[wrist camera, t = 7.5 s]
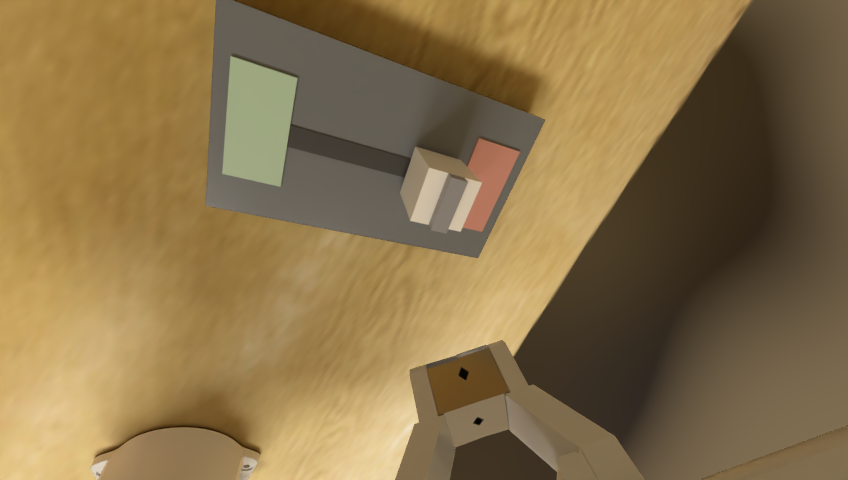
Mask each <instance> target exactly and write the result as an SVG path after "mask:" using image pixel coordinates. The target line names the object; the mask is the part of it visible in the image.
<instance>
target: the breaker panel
mask: <svg viewBox="0 0 848 480" xmlns="http://www.w3.org/2000/svg"><path fill="white" fill-rule="evenodd" d="M544 122H545V120H544V119H542V118H540V117H537V116H535V115H533V114H530V113H528V112H525V111H523V110H520V109H517V108H515V107H512V106H509V105H507V104H504V103H502V102H499V101H496V100H494V99H491V98H489V97H486V96H483V95H481V94H478V93H476V92H473V91H470V90H468V89H465V88H462V87H460V86H457V85H455V84H452V83H449V82H447V81H444V80H442V79H439V78H436V77H434V76H431V75H428V74H426V73H423V72H421V71H418V70H415V69H413V68H410V67H408V66H405V65H402V64H400V63H397V62H395V61H392V60H389V59H387V58H384V57H381V56H379V55H376V54H374V53H371V52H368V51H366V50H363V49H361V48H358V47H355V46H353V45H350V44H347V43H345V42H342V41H340V40H337V39H334V38H332V37H329V36H327V35H324V34H321V33H319V32H316V31H314V30H311V29H308V28H306V27H303V26H300V25H298V24H295V23H293V22H290V21H287V20H285V19H282V18H280V17H277V16H274V15H272V14H269V13H267V12H264V11H261V10H259V9H256V8H253V7H251V6H248V5H246V4H243V3H240V2H238V1H235V0H216V10H215V30H214V50H213V70H212V90H211V111H210V131H209V151H208V171H207V191H206V206H209V207H214V208H220V209H225V210H230V211H235V212H240V213H246V214H251V215H256V216H261V217H266V218H272V219H277V220H282V221H287V222H293V223H298V224H303V225H308V226H313V227H319V228H324V229H329V230H334V231H339V232H345V233H350V234H355V235H360V236H365V237H371V238H376V239H381V240H386V241H391V242H397V243H402V244H407V245H412V246H417V247H423V248H428V249H433V250H438V251H443V252H449V253H454V254H459V255H464V256H469V257H475V258H478V257H479V255H480V253H481V251H482V249H483V247H484V245H485V243H486V241H487V239H488V237H489V234H490V232H491V230H492V228H493V226H494V224H495V222H496V220H497V218H498V216H499V214H500V212H501V210H502V208H503V206H504V204H505V202H506V200H507V198H508V195H509V193H510V191H511V189H512V187H513V185H514V183H515V181H516V179H517V177H518V175H519V173H520V171H521V169H522V167H523V165H524V163H525V161H526V159H527V156H528V154H529V152H530V150H531V148H532V146H533V144H534V142H535V140H536V138H537V136H538V134H539V132H540V130H541V128H542V126H543V124H544ZM415 146H416V147H419V148H422V149H426V150H429V151H432V152H436V153H439V154H442V155H446V156H449V157H452V158H456V159H459V160H461V161H462V162H463V163H464V164H465V165H466V166H467V167H468V168H469V169H470V170H471V171H472V172H473V173H474V174H475V176H476V177H477V178H478V179H479V180H480V181H481V182H482V184H481V187H480V189H479V191H478V193H477V196H476V198H475V200H474V203H473V205H472V207H471V209H470V212H469V214H468V216H467V218H466V221H465V223H464V225H463V228H462V230H461V232H459V231H454V230H450V229H448V231H447V233H441V232H437V231H432V230H431V229H430V227H429V225H427V224H422V223H418V222H413V221H410V219H409V216H408V214H407V211H406V208H405V205H404V203H403V200H402V197H401V194H400V191H401V188H402V185H403V182H404V179H405V176H406V173H407V170H408V167H409V164H410V161H411V158H412V155H413V152H414V149H415Z"/></svg>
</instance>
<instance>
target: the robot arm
mask: <svg viewBox="0 0 848 480" xmlns="http://www.w3.org/2000/svg"><path fill="white" fill-rule="evenodd" d="M410 379H411V384H412V389H413V394H414V398H415V403H416V408H417V413H418V418H419V423H417V424H414V427H413V430H412V433H411V436H410V439H409V442H408V444H407V447H406V450H405V453H404V456H403V459H402V462H401V465H400V467H399V470H398V473H397V476H396V479H395V480H449V479H450V474H451V469H452V464H453V459H454V454H455V447H457V446H460V445H463V444H465V443H468V442H471V441H473V440H476V439H479V438H482V437H485V436H488V435H491V434H495V433H498V432H501V431H504V430H508V429H510V431H511V432H512V433H513V434H514V435H516V436H517V437H518V438H519V439H520V440H521V441H522V442H524V443H525V444H526V445H527V446H528V447H529V448H531V449H532V450H533V451H534V452H535V453H536V454H537V455H538V456H540V457H541V458H542V459H543V460H544V461H545V462H546V463H548V464H549V465H550V466H551V467H552V468H553V469H555V470H556V471H557V480H644V478H643V477H642V476H641V474H640V473H639V471H638V470H637V468H636V467H635V465H634V464H633V462H632V461H631V459H630V458H629V457H628V455H627V454H626V452H625V451H624V449H623V448H622V446H621V445H620V443H619V442H618V440H617V439H616V437H615V436H614V435H612V434H610V433H609V432H607V431H606V430H604V429H603V428H601V427H599V426H598V425H596V424H594V423H593V422H591V421H590V420H588V419H587V418H585V417H584V416H582V415H580V414H579V413H577V412H576V411H574V410H573V409H571V408H569V407H568V406H566V405H564V404H563V403H561V402H560V401H558V400H557V399H555V398H554V397H552V396H550V395H549V394H547V393H546V392H544V391H542V390H541V389H539V388H538V387H536V386H534V385H531V386H528V384H527V382H526V380H525V378H524V377H523V375H522V373H521V371H520V369H519V368H518V366H517V364H516V362H515V360H514V358H513V356H512V354H511V353H510V351H509V349H508V347H507V345H506V343H505V342H504V341H503V340H500V341H497V342H495V343H492V344H489V345H484V346H481V347H478V348H475V349H472V350H469V351H466V352H463V353H460V354H457V355H456V356H453V357H450V358H446V359H443V360H440V361H436V362H433V363H430V364H426V365H423V366H420V367H416V368H413V369H410ZM259 457H260V454H259V453H257V452H255V451H253V450H250V449H247V448H244V447H242V446H240V445H239V444H238V443H237V442H236V441H234V440H233V439H231V438H230V437H228V436H226V435H224V434H221V433H218V432H215V431H211V430H207V429H201V428H190V427H177V428H166V429H159V430H154V431H150V432H147V433H144V434H141V435H138V436H136V437H134V438H132V439H130V440H129V441H127V442H126V443H125V444H123V445H122V446H121V447H119V448H118V449H116V450H114V451H111V452H108V453H105V454H102V455H99V456H97V457H96V458H94V460H93V462H92V464H91V467H90V469H91V471H92V473H93V474H94V476H95V477H96V479H97V480H248V479H249V477H250V475H251V474H252V472H253V470H254V468H255V467H256V465H257V463H258V460H259ZM699 480H848V425H847V426H844V427H841V428H839V429H836V430H833V431H830V432H828V433H825V434H822V435H819V436H817V437H814V438H811V439H808V440H806V441H803V442H800V443H797V444H795V445H792V446H789V447H786V448H784V449H781V450H778V451H775V452H773V453H770V454H767V455H765V456H762V457H759V458H756V459H754V460H751V461H748V462H745V463H742V464H740V465H737V466H734V467H732V468H729V469H726V470H724V471H721V472H718V473H715V474H712V475H710V476H707V477H704V478H701V479H699Z"/></svg>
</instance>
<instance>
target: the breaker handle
mask: <svg viewBox="0 0 848 480" xmlns="http://www.w3.org/2000/svg"><path fill="white" fill-rule="evenodd" d="M481 184H482V182H481V181H480V180H479V179H478V178H477V177H476V176H475V174H474V173H473V172H472V171H471V170H470V169H469V168H468V167H467V166H466V165H465V164H464V163H463V162H462V161H461V160H459V159H456V158H452V157H449V156H446V155H442V154H439V153H436V152H432V151H429V150H426V149H422V148H419V147H416V146H415V149H414V152H413V155H412V158H411V161H410V164H409V167H408V170H407V173H406V176H405V179H404V182H403V185H402V188H401V191H400V194H401V197H402V200H403V203H404V205H405V208H406V211H407V214H408V216H409V219H410V221H413V222H418V223H422V224H427V225H429V227H430V229H431V230H432V231H437V232H441V233H447V231H448V229H450V230H454V231H459V232H461V230H462V228H463V225H464V223H465V221H466V218H467V216H468V214H469V212H470V209H471V207H472V205H473V203H474V200H475V198H476V196H477V193H478V191H479V189H480V187H481Z"/></svg>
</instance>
